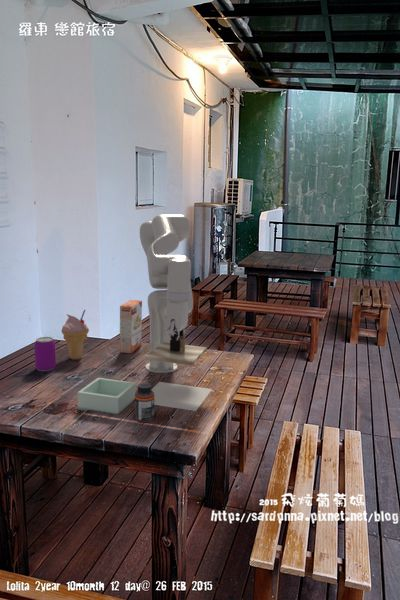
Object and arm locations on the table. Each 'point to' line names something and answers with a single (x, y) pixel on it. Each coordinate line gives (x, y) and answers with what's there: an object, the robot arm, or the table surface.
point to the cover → (177, 353)
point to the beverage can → (45, 354)
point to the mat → (179, 396)
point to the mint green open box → (106, 395)
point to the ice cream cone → (75, 335)
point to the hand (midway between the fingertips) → (177, 348)
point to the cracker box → (130, 326)
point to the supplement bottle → (144, 403)
